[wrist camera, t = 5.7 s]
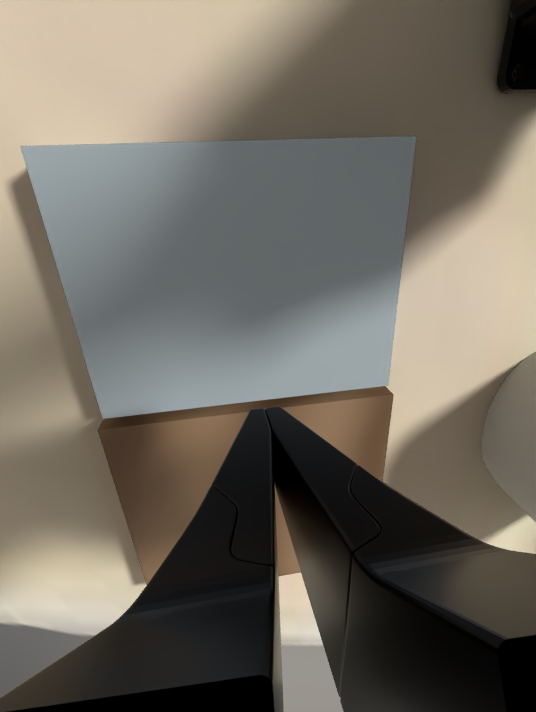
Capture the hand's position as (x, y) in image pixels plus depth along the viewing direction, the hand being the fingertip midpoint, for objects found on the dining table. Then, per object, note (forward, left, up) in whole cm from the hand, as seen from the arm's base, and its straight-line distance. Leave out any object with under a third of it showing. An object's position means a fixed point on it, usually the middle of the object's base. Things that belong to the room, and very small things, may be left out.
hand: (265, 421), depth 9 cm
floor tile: (0, -3, -6) cm, 7 cm away
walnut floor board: (0, +9, -6) cm, 11 cm away
